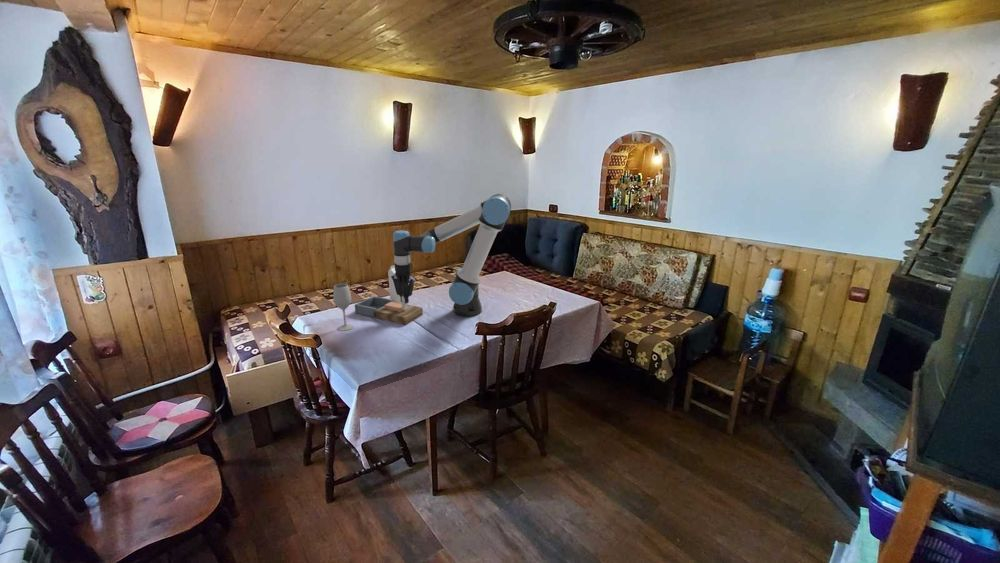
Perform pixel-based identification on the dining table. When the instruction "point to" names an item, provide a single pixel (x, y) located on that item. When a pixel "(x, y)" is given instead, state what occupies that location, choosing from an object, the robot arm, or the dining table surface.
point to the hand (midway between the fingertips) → (405, 308)
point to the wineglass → (342, 302)
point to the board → (400, 314)
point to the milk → (391, 286)
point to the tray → (371, 306)
